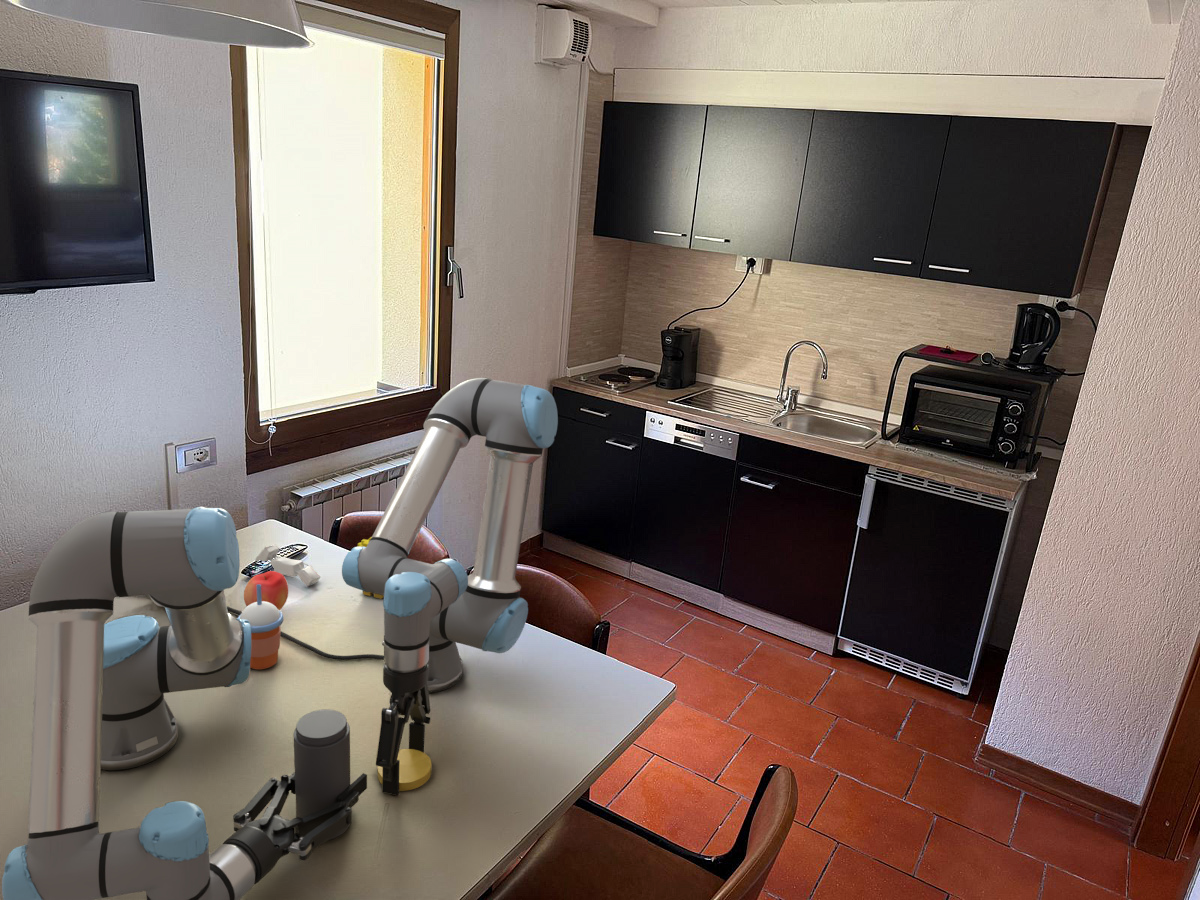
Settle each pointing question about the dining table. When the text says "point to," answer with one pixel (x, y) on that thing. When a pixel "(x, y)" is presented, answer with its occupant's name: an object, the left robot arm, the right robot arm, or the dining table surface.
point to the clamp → (288, 565)
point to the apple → (267, 589)
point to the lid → (411, 769)
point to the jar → (321, 760)
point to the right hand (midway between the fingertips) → (403, 773)
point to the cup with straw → (263, 631)
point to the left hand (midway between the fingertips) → (342, 772)
